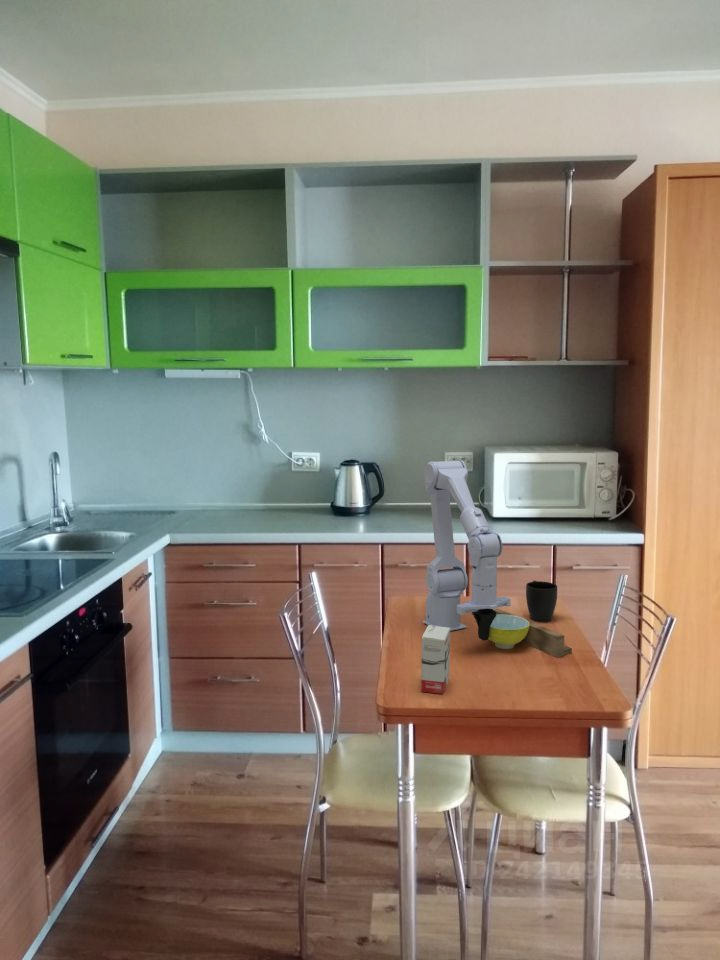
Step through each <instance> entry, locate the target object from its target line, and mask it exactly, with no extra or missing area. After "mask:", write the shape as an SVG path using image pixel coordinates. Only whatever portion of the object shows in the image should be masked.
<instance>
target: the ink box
mask: <svg viewBox="0 0 720 960" xmlns="http://www.w3.org/2000/svg"><path fill="white" fill-rule="evenodd" d="M450 647H451V631H450V628H447V627H440V626H433V625H427V627H426V628H425V631H424V633H423V634H422V637H421V673H420V674H421V676H420V677H421V679H420V683H421V684H420V692H421V693H430V694H438V695H439V694H440V695H444V693H445V691H446V688H447V685H448V683H449V680H450V655H451V654H450V651H451V648H450Z"/></svg>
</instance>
